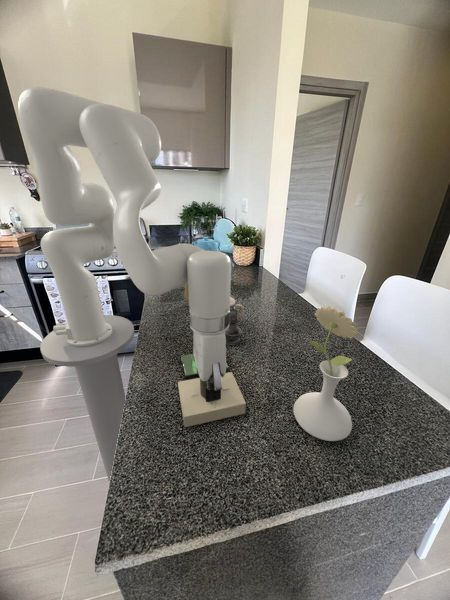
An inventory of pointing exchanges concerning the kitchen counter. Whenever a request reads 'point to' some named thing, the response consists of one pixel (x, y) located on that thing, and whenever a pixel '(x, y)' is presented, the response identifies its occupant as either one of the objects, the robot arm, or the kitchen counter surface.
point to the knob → (202, 387)
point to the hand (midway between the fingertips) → (210, 390)
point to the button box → (191, 367)
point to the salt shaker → (233, 329)
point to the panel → (202, 411)
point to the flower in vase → (327, 385)
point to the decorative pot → (207, 244)
